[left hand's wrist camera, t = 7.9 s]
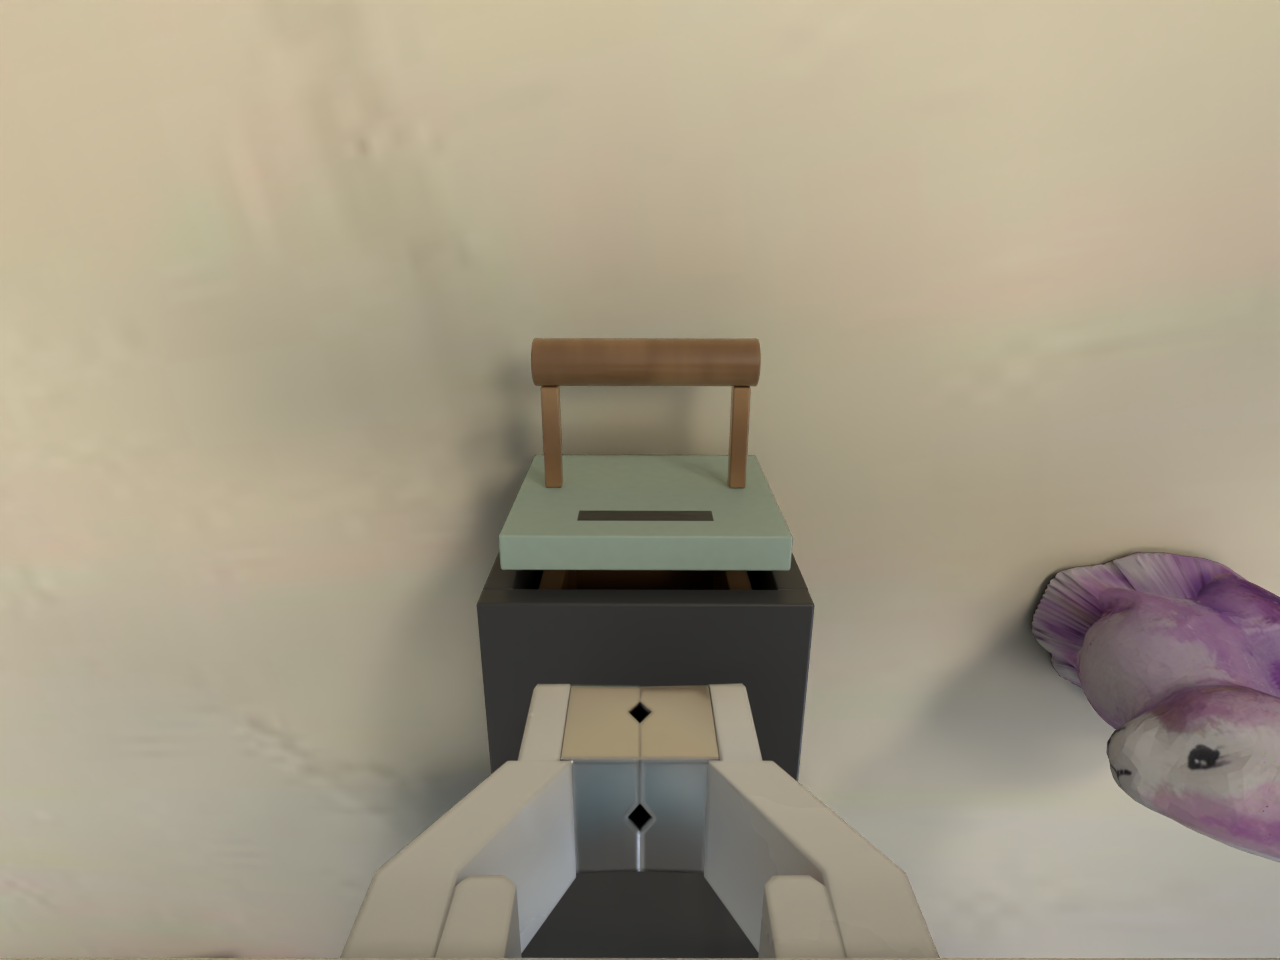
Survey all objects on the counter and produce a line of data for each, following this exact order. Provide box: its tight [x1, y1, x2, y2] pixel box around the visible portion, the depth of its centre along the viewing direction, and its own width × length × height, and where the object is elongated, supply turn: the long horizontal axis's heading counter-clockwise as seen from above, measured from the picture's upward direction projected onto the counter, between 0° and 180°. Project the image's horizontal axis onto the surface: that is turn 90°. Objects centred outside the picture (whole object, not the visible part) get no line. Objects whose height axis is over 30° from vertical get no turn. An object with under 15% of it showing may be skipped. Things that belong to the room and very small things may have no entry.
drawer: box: [499, 338, 793, 590], centre depth 28 cm, size 24×9×8 cm, turn 0°
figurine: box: [1032, 552, 1280, 862], centre depth 26 cm, size 9×10×15 cm
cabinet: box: [477, 551, 814, 958], centre depth 30 cm, size 20×10×10 cm, turn 0°
